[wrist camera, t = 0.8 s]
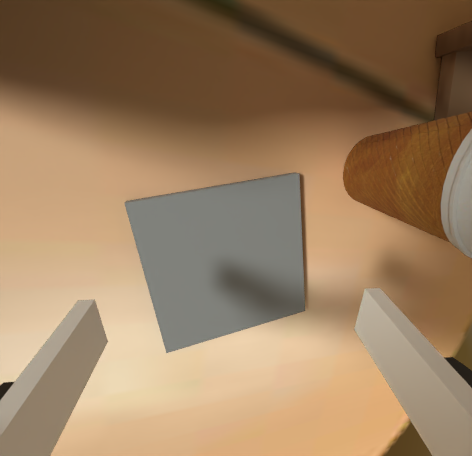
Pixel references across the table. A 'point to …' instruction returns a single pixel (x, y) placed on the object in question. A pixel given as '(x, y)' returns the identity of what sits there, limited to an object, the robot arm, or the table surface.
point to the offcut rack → (454, 72)
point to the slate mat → (221, 257)
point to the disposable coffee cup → (419, 177)
